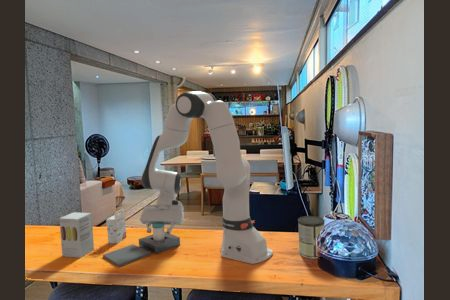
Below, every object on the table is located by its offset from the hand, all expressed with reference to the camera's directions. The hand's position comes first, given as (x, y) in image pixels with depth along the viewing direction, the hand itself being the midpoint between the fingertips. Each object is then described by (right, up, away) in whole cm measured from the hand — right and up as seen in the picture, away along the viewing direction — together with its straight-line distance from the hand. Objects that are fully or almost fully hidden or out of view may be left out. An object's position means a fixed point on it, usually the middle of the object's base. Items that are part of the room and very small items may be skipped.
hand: (158, 232), depth 139 cm
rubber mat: (-12, -8, -8) cm, 16 cm away
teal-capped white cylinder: (0, -6, +1) cm, 6 cm away
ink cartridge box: (-22, -6, +10) cm, 25 cm away
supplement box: (-34, -8, -3) cm, 35 cm away
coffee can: (+65, -5, -13) cm, 66 cm away
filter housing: (0, -6, +1) cm, 6 cm away
